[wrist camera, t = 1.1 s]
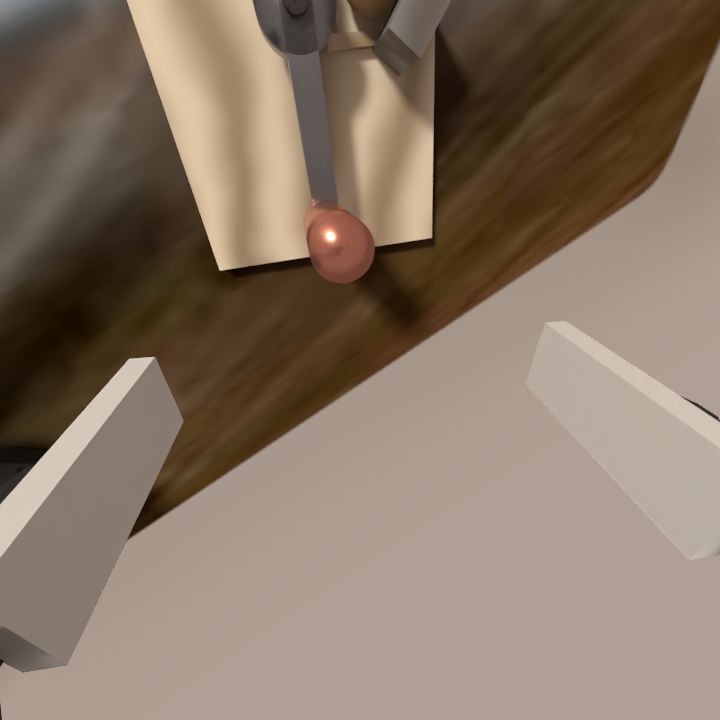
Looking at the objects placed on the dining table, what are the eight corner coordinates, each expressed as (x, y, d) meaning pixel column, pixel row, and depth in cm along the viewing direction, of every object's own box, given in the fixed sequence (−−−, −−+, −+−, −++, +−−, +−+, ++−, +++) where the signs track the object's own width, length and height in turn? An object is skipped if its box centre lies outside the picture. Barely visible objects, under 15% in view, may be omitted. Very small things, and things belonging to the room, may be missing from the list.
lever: (302, 249, 30) (307, 289, 20) (225, -138, 18) (155, -469, 9) (355, 241, 30) (384, 276, 21) (313, -141, 19) (337, -456, 9)
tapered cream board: (222, 266, 32) (208, 287, 26) (111, -64, 20) (46, -147, 15) (427, 234, 34) (454, 248, 28) (430, -80, 22) (475, -159, 17)
